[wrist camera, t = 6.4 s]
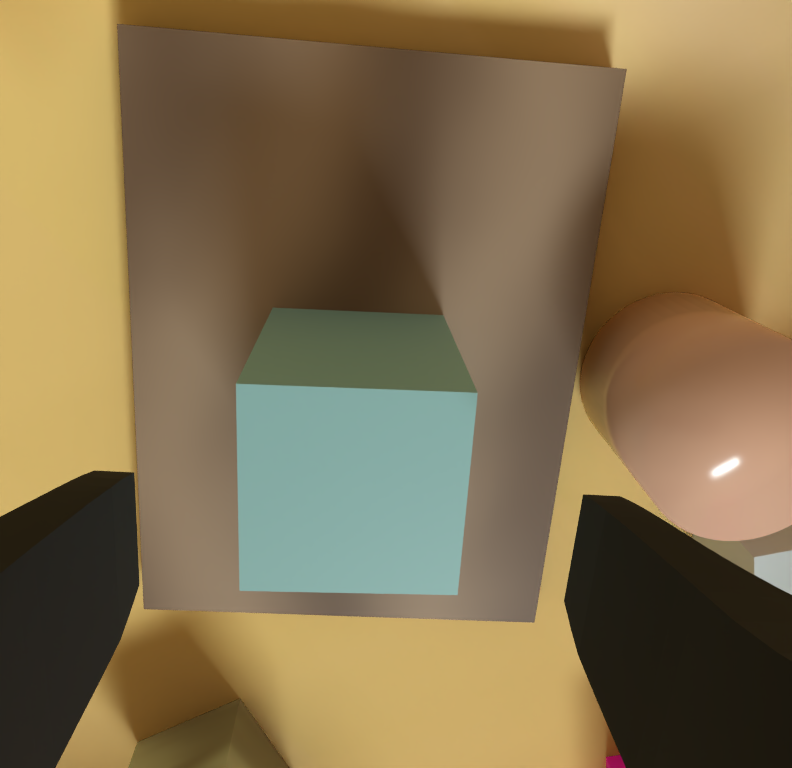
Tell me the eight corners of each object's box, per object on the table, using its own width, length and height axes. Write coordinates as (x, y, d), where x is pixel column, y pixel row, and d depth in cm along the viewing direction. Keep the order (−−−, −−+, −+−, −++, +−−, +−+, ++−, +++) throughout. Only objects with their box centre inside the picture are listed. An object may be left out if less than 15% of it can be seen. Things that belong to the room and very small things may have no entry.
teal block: (443, 315, 19) (477, 393, 14) (431, 468, 21) (457, 595, 15) (272, 307, 19) (235, 383, 13) (272, 463, 20) (239, 590, 15)
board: (613, 72, 18) (626, 68, 17) (527, 602, 24) (534, 622, 23) (130, 29, 18) (117, 23, 17) (152, 589, 23) (144, 609, 22)
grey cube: (815, 462, 23) (906, 528, 19) (814, 570, 24) (899, 652, 20) (688, 486, 23) (753, 557, 19) (694, 592, 24) (756, 678, 20)
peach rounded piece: (766, 297, 21) (886, 347, 16) (726, 457, 22) (825, 545, 18) (595, 286, 20) (665, 333, 16) (567, 449, 22) (624, 537, 17)
